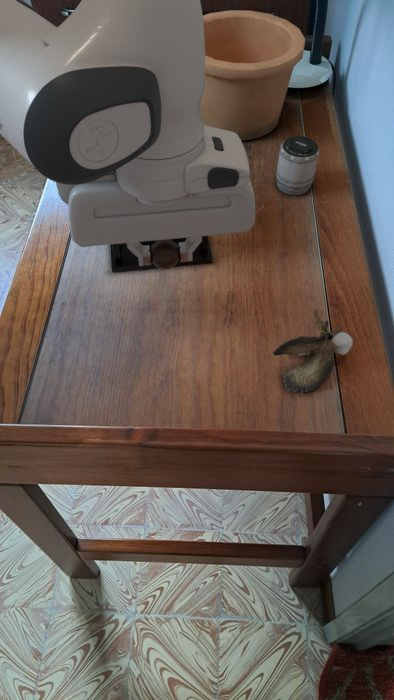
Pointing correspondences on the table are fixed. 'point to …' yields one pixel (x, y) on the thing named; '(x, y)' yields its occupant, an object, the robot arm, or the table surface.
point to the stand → (128, 261)
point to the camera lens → (297, 165)
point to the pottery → (247, 70)
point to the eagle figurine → (313, 356)
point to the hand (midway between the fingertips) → (165, 259)
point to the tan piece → (165, 253)
